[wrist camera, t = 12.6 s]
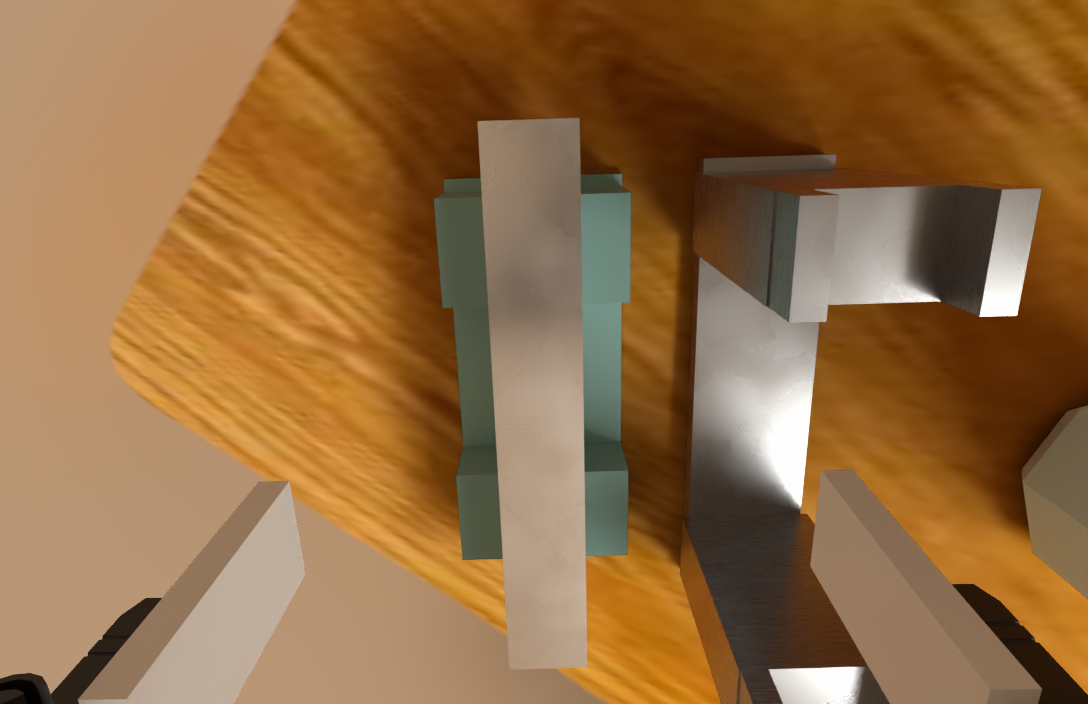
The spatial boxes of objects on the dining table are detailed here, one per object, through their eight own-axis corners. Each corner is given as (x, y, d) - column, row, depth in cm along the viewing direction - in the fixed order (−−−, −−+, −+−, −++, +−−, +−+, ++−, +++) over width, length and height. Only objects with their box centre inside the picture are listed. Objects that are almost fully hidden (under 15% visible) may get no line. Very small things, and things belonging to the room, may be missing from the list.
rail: (486, 123, 23) (477, 121, 19) (574, 120, 23) (579, 118, 19) (513, 608, 29) (509, 669, 26) (581, 606, 29) (587, 667, 26)
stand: (690, 158, 26) (799, 173, 15) (833, 153, 26) (1048, 165, 15) (675, 569, 32) (746, 798, 21) (792, 566, 32) (925, 794, 21)
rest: (444, 179, 26) (432, 184, 23) (621, 173, 26) (631, 177, 23) (470, 530, 31) (463, 569, 28) (619, 525, 31) (627, 565, 28)
